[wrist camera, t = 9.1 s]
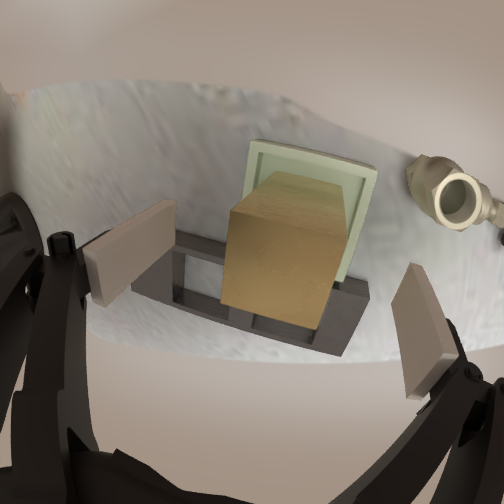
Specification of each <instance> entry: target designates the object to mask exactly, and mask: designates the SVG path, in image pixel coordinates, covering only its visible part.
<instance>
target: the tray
mask: <svg viewBox="0 0 504 504" xmlns="http://www.w3.org/2000/svg"><path fill="white" fill-rule="evenodd" d="M276 170H277V171H282V172H287V173H291V174H296V175H300V176H304V177H308V178H313V179H317V180H321V181H325V182H329V183H333V184H336V185H340V186H342V191H343V199H344V207H345V216H346V226H347V236H348V241H347V244H346V247H345V250H344V253H343V256H342V260H341V263H340V266H339V269H338V272H337V274H336V277H335V281H339V282H343V281H344V278H345V276H346V273H347V270H348V267H349V265H350V262H351V259H352V256H353V253H354V250H355V247H356V244H357V242H358V238H359V235H360V232H361V229H362V226H363V223H364V220H365V217H366V213H367V210H368V207H369V203H370V200H371V196H372V193H373V189H374V186H375V182H376V178H377V175H378V171H377V169H376V168H375V167H373V166H369V165H366V164H363V163H359V162H356V161H352V160H349V159H345V158H341V157H338V156H334V155H330V154H326V153H322V152H318V151H314V150H310V149H305V148H301V147H296V146H292V145H287V144H282V143H277V142H272V141H267V140H262V139H255V140H251V141H250V147H249V153H248V160H247V166H246V173H245V180H244V186H243V193H242V200H243V199H244V198H245V197H246V196H247V195H248V194H249V193H251V192H252V191H253V190H254V189H255V188H256V187H257V186H258V185H260V184H261V183H262V182H263V181H264V180H265V179H266V178H268V177H269V176H270V175H271V174H272V173H273V172H275V171H276ZM242 200H241V201H242Z"/></svg>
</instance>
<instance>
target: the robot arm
mask: <svg viewBox="0 0 504 504" xmlns="http://www.w3.org/2000/svg"><path fill="white" fill-rule="evenodd" d="M176 204H177V201H172V200H168V199H164V200H162V201H161V202H159V203H157V204H155V205H153V206H152V207H150V208H148V209H146V210H144V211H143V212H141V213H139V214H137V215H136V216H134V217H132V218H131V219H129V220H127V221H125V222H124V223H122V224H120V225H119V226H117V227H115V228H114V229H111V230H108V231H105V232H103V233H102V234H100V235H98V237H95V238H94V239H93V240H90V241H89V242H87V243H86V244H84V245H82V246H81V247H79V248H78V249H76V246H75V240H74V234H73V233H71V232H68V231H62V232H57V233H54V234H52V235H51V236H49V237H48V238H47V245H48V250H49V254H50V256H46V255H44V254H43V248H42V243H41V239H40V236H39V232H38V229H37V227H36V224H35V222H34V219H33V217H32V215H31V213H30V211H29V209H28V208H27V206H26V204H25V203H24V202H23V200H22V199H21V198H20V197H19V196H18V195H16V194H15V193H8V194H6V195H4V196H1V197H0V433H1V430H2V427H3V424H4V420H5V417H6V413H7V410H8V406H9V402H10V399H11V396H12V393H13V390H14V387H15V384H16V381H17V378H18V375H19V372H20V370H21V367H22V364H23V361H24V359H25V356H26V354H27V356H26V365H25V373H24V382H23V389H22V390H21V391H15V392H14V394H13V398H12V408H11V459H12V466H10V467H2V468H0V504H253V503H249V502H245V501H241V500H238V499H234V498H230V497H227V496H222V495H212V494H203V493H197V492H190V491H184V490H181V489H179V488H178V487H176V486H175V485H173V484H172V483H171V482H169V481H168V480H166V479H165V478H164V477H163V476H161V475H160V474H159V473H157V472H156V471H155V470H153V469H152V468H151V467H150V466H148V465H146V464H144V463H142V462H140V461H138V460H137V459H135V458H133V457H131V456H129V455H127V454H125V453H124V452H122V451H120V450H118V449H116V450H115V451H114V453H113V454H112V453H107V452H101V451H99V448H98V445H97V442H96V440H95V437H94V434H93V431H92V424H91V417H90V409H89V398H88V386H87V372H86V371H87V370H86V307H87V301H86V297H85V296H86V295H87V294H88V293H89V292H90V291H91V296H92V300H93V302H94V303H96V304H98V305H100V306H102V307H104V308H105V307H106V306H107V305H108V304H109V303H111V302H112V301H113V300H114V299H115V298H116V297H117V296H118V295H119V294H120V293H121V292H122V291H123V290H125V289H126V288H127V287H128V286H129V285H130V284H131V283H132V282H133V281H134V280H135V279H137V278H138V277H139V276H140V275H141V274H142V273H143V272H144V271H145V270H147V269H148V268H149V267H150V266H151V265H152V264H153V263H154V262H156V261H157V260H158V259H159V258H160V257H161V256H162V255H164V254H165V253H166V252H167V251H168V250H169V249H171V248H172V247H173V246H174V245H175V227H176ZM26 286H27V290H28V292H27V293H25V287H26ZM391 306H392V310H393V315H394V320H395V325H396V331H397V336H398V342H399V348H400V354H401V360H402V367H403V374H404V382H405V391H406V399H412V400H422V399H423V398H424V397H425V396H426V395H427V394H428V392H429V393H430V400H429V401H428V402H427V403H426V405H424V407H423V408H422V409H421V410H419V411H418V413H417V416H416V417H415V419H414V420H413V422H412V423H411V424H410V425H409V426H408V427H407V429H406V430H405V431H404V432H403V433H402V434H401V435H400V437H399V438H398V439H397V440H396V441H395V443H394V444H392V446H391V447H390V448H389V449H388V450H387V451H386V452H385V453H384V454H383V455H382V456H381V457H380V458H379V459H378V460H377V461H376V462H375V463H374V464H373V466H371V467H370V468H369V469H368V470H367V471H366V472H365V473H364V474H363V475H362V476H361V477H360V478H358V479H357V480H356V481H355V482H354V483H353V484H352V485H351V486H350V487H348V488H347V489H346V490H345V491H344V492H342V493H341V494H340V495H339V496H337V497H336V498H335V499H334V500H332V501H331V502H330V503H329V504H411V502H412V501H413V500H414V499H415V498H416V496H417V495H418V494H419V493H420V491H421V490H422V489H423V487H424V486H425V485H426V483H427V482H428V481H429V479H430V478H431V476H432V475H433V474H434V472H435V471H436V469H437V468H438V466H439V465H440V463H441V462H442V460H443V459H444V457H445V455H446V454H447V452H448V450H449V449H450V447H451V446H452V447H451V450H450V453H449V456H448V459H447V462H446V465H445V468H444V471H443V473H442V476H441V479H440V481H439V483H438V486H437V488H436V491H435V493H434V495H433V498H432V500H431V502H430V504H501V501H502V498H503V494H504V378H503V377H502V378H498V379H497V380H496V382H495V383H494V384H493V385H492V384H490V383H488V382H486V381H484V380H483V375H482V372H481V371H480V369H479V368H478V367H477V366H476V365H475V364H473V363H471V362H468V361H467V357H466V355H465V352H464V349H463V346H462V344H461V343H460V338H459V336H458V333H457V331H456V328H455V326H454V325H453V324H452V322H451V321H450V320H449V319H447V318H445V316H444V313H443V311H442V309H441V306H440V304H439V302H438V299H437V297H436V295H435V292H434V290H433V288H432V286H431V284H430V282H429V279H428V277H427V275H426V273H425V271H424V269H423V267H422V266H420V265H417V264H414V263H411V262H410V264H409V266H408V269H407V271H406V273H405V275H404V278H403V280H402V282H401V284H400V286H399V288H398V291H397V293H396V295H395V297H394V299H393V301H392V303H391Z"/></svg>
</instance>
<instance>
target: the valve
mask: <svg viewBox="0 0 504 504" xmlns="http://www.w3.org/2000/svg"><path fill="white" fill-rule="evenodd" d="M406 176H407V180H408V185H409V190H410V194H411V196H412V197H413V198H414V199H415V201H416V203H417V205H418V206H419V208H420V209H421V210H422V211H423V212H424V213H425V214H427V215H428V216H430V217H432V218H433V220H434V221H435V222H436V223H438V224H440V225H443V226H445V227H448V228H450V229H453V230H456V231H459V232H462V231H463V230H465V229H466V228H467V227H468V226H469V225H471V224H474V225H478V224H480V223H482V222H483V221H484V220H486V219H487V220H488V221H489V222H490V223H492V224H494V225H496V226H498V227H500V228H503V227H504V204H503V203H501V202H499V201H497V200H495V199H492V198H491V194H490V191H489V189H488V187H487V186H486V185H484V184H482V183H480V182H479V180H477V179H476V178H474V177H472V176H470V175H468V174H466V173H464V172H463V170H462V169H461V168H460V167H459V166H458V164H456V163H455V162H454V161H452V160H450V159H448V158H445V157H438V156H437V157H431V158H430V157H428V156H425V155H420V156H419V157H418V158H417V159H416V160H415V161H414V162H413V163H412V164H411V165H410V166H409V167H408V168H407V169H406ZM501 243H502V245H503V246H504V234H503V235H502V237H501Z"/></svg>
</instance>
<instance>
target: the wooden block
mask: <svg viewBox="0 0 504 504" xmlns="http://www.w3.org/2000/svg"><path fill="white" fill-rule="evenodd" d="M347 241H348V236H347V226H346V216H345V207H344V199H343V191H342V186H340V185H336V184H333V183H329V182H325V181H321V180H317V179H313V178H308V177H304V176H300V175H296V174H291V173H287V172H282V171H277V170H276V171H275V172H273V173H272V174H271V175H270V176H269V177H268V178H266V179H265V180H264V181H263V182H262V183H261V184H260V185H258V186H257V187H256V188H255V189H254V190H253V191H252V192H251V193H249V194H248V195H247V196H246V197H245V198H244V199H243V200H242V201H240V202H239V203H238V204H237V205H236V206H235V207H234V208H233V209H232V210H230V219H229V227H228V236H227V244H226V253H225V262H224V272H223V281H222V291H221V301H220V303H222V304H225V305H228V306H232V307H235V308H238V309H242V310H245V311H248V312H252V313H255V314H259V315H262V316H266V317H269V318H273V319H276V320H280V321H284V322H287V323H291V324H295V325H299V326H302V327H306V328H310V329H314V330H316V329H317V326H318V324H319V321H320V319H321V316H322V313H323V311H324V308H325V305H326V303H327V300H328V297H329V294H330V292H331V289H332V286H333V283H334V280H335V277H336V274H337V272H338V269H339V266H340V263H341V260H342V256H343V253H344V250H345V247H346V244H347Z"/></svg>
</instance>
